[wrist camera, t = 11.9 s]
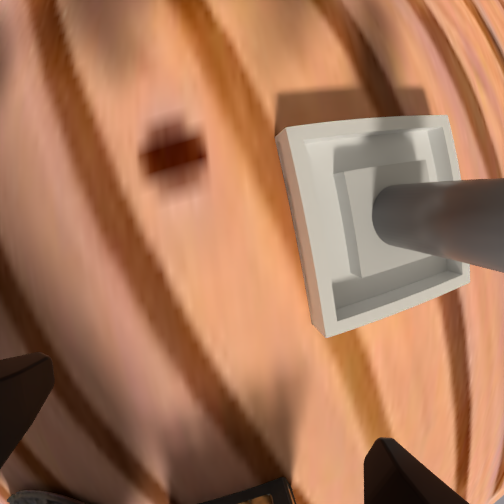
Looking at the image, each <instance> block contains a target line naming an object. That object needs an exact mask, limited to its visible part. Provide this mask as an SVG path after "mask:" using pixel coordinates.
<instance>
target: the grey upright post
mask: <svg viewBox="0 0 504 504" xmlns="http://www.w3.org/2000/svg"><path fill="white" fill-rule="evenodd" d="M333 176H334V181H335V186H336V191H337V196H338V201H339V206H340V212H341V217H342V223H343V228H344V234H345V240H346V246H347V253H348V259H349V266H350V273H352V274H354V275H356V276H358V277H361V278H364V277H367V276H370V275H374V274H377V273H380V272H383V271H386V270H389V269H393V268H396V267H399V266H402V265H405V264H408V263H411V262H414V261H417V260H420V259H423V258H426V257H429V256H432V255H434V256H438V257H442V258H447V259H451V260H455V261H459V262H463V263H467V264H471V265H475V266H479V267H483V268H487V269H491V270H495V271H499V272H503V273H504V178H500V179H476V180H456V181H439V182H430V180H429V174H428V169H427V164H426V160H418V161H411V162H403V163H396V164H389V165H383V166H376V167H369V168H363V169H357V170H351V171H345V172H340V173H336V174H333Z"/></svg>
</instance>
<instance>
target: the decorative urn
mask: <svg viewBox="0 0 504 504" xmlns="http://www.w3.org/2000/svg"><path fill="white" fill-rule="evenodd" d="M7 502H10V504H85V503H83V502H80V501H78V500H75V499H72V498H70V497H67V496H64V495H60V494H56V493H52V492H47V491H40V490H20V491H19V492H16V494H12V496H11V497H9V498H8V499H7Z"/></svg>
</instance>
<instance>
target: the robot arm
mask: <svg viewBox="0 0 504 504" xmlns="http://www.w3.org/2000/svg"><path fill="white" fill-rule="evenodd" d="M54 382H55V379H54V371H53V362H52V359H51V357H49V356H48V355H45V354H43V353H41V352H36V353H31V354H26V355H22V356H17V357H12V358H8V359H3V360H0V469H1V467H2V466H3V464H4V463H5V461H6V460H7V459H8V457H9V456H10V454H11V453H12V451H13V450H14V449H15V447H16V446H17V444H18V443H19V441H20V440H21V439H22V437H23V436H24V434H25V433H26V432H27V430H28V429H29V427H30V426H31V425H32V423H33V421H34V420H35V418H36V416H37V414H38V413H39V411H40V409H41V407H42V406H43V404H44V402H45V400H46V399H47V397H48V395H49V394H50V392H51V390H52V388H53V386H54ZM364 504H469V503H468V502H467V501H465V500H464V499H463V498H462V497H461V496H459V495H458V494H457V493H456V492H455V491H453V490H452V489H451V488H450V487H449V486H447V485H446V484H445V483H444V482H443V481H441V480H440V479H439V478H438V477H437V476H436V475H434V474H433V473H432V472H431V471H430V470H429V469H427V468H426V467H425V466H424V465H423V464H422V463H420V462H419V461H418V460H417V459H416V458H415V457H413V456H412V455H411V454H410V453H409V452H408V451H407V450H405V449H404V448H403V447H402V446H401V445H400V444H399V443H398V442H396V441H395V440H394V439H393V438H384V437H380V438H378V439H377V440H376V441H375V442H374V444H373V446H372V447H371V449H370V451H369V452H368V454H367V455H366V457H365V460H364Z"/></svg>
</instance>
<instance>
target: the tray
mask: <svg viewBox="0 0 504 504" xmlns="http://www.w3.org/2000/svg"><path fill="white" fill-rule="evenodd" d="M275 141H276V145H277V150H278V154H279V159H280V163H281V168H282V172H283V177H284V181H285V186H286V191H287V195H288V200H289V205H290V210H291V214H292V219H293V224H294V229H295V234H296V239H297V244H298V250H299V255H300V260H301V265H302V271H303V276H304V282H305V287H306V293H307V298H308V304H309V310H310V316H311V321H312V324H313V325H314V326H315V327H316V328H317V329H318V330H319V331H320V332H321V334H322V335H323V336H324V337H325V338H328V337H331V336H334V335H337V334H340V333H343V332H346V331H349V330H352V329H355V328H358V327H361V326H364V325H367V324H369V323H372V322H375V321H378V320H380V319H383V318H386V317H388V316H391V315H394V314H396V313H399V312H401V311H404V310H407V309H409V308H412V307H414V306H417V305H419V304H421V303H424V302H426V301H429V300H431V299H434V298H436V297H438V296H441V295H443V294H445V293H448V292H450V291H452V290H454V289H457V288H459V287H461V286H463V285H465V284H468V283H470V264H467V263H463V262H459V261H455V260H451V259H447V258H442V257H438V256H434V255H432V256H429V257H426V258H423V259H420V260H417V261H414V262H411V263H408V264H405V265H402V266H399V267H396V268H393V269H389V270H386V271H383V272H380V273H377V274H374V275H370V276H367V277H364V278H361V277H358V276H356V275H354V274H352V273H350V266H349V259H348V253H347V246H346V240H345V234H344V228H343V223H342V217H341V212H340V206H339V201H338V196H337V191H336V186H335V181H334V176H333V174H336V173H340V172H345V171H351V170H357V169H363V168H369V167H376V166H383V165H389V164H396V163H403V162H411V161H418V160H426V164H427V169H428V174H429V180H430V182H439V181H456V180H461V176H460V170H459V165H458V160H457V154H456V149H455V145H454V140H453V136H452V131H451V127H450V123H449V119H448V115H417V116H393V117H377V118H363V119H352V120H341V121H331V122H322V123H314V124H306V125H299V126H291V127H285V128H284V129H283V130H282V131H281V132H280V133H279V134H278V135H276V136H275Z"/></svg>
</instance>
